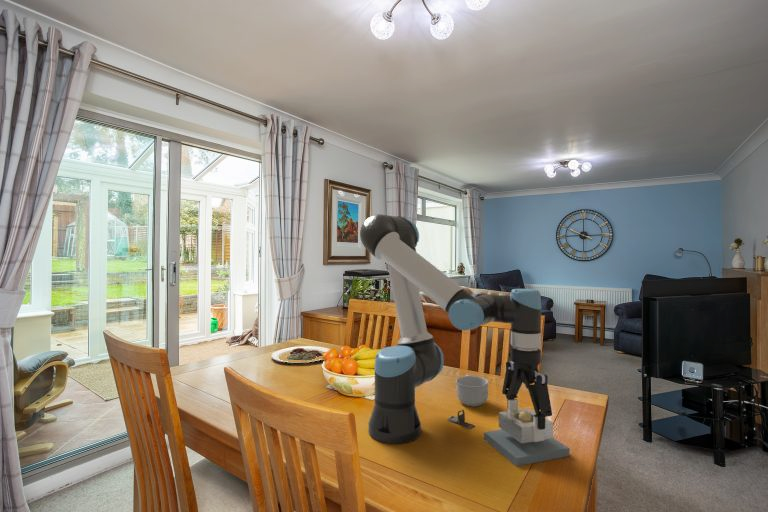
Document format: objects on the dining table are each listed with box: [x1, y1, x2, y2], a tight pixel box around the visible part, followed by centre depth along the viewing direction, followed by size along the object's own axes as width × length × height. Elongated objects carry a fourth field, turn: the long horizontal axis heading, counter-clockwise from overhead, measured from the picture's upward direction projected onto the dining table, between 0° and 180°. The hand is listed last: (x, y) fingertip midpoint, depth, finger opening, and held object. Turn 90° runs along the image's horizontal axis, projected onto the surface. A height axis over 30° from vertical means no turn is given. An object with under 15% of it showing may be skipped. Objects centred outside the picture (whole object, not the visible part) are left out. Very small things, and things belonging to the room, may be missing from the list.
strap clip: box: [447, 409, 476, 430], centre depth 116 cm, size 8×3×4 cm, turn 42°
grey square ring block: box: [498, 407, 554, 443], centre depth 101 cm, size 10×10×4 cm
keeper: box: [483, 411, 570, 467], centre depth 101 cm, size 16×14×10 cm
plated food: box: [271, 345, 331, 364], centre depth 189 cm, size 30×30×3 cm
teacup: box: [455, 374, 489, 407], centre depth 133 cm, size 14×11×8 cm
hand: (525, 431), depth 101 cm, fingers closed on grey square ring block, 10 cm apart
